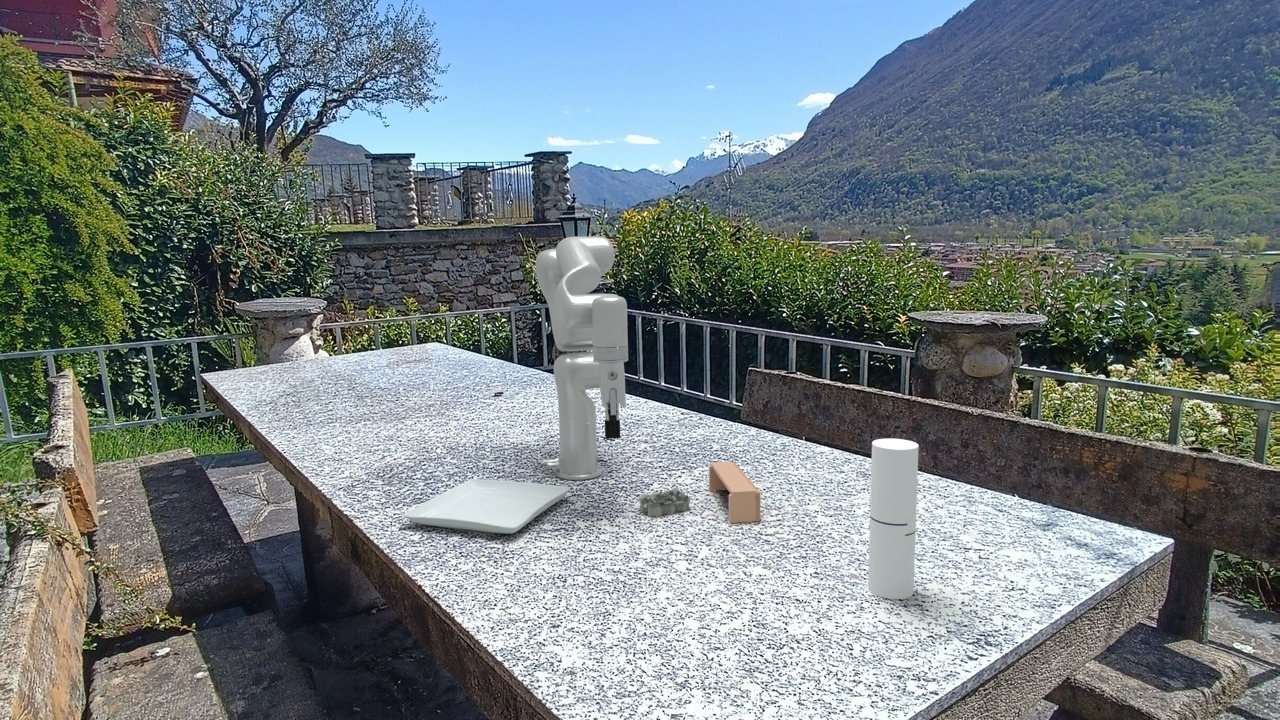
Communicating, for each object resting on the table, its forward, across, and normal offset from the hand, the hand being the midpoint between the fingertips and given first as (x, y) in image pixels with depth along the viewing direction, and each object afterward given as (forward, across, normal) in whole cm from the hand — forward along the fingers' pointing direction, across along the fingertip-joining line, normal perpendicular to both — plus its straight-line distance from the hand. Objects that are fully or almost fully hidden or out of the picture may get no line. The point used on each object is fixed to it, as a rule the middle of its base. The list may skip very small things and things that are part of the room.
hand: (612, 437), depth 160 cm
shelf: (+17, 0, -26) cm, 31 cm away
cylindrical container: (+17, -45, -43) cm, 64 cm away
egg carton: (+17, 0, -11) cm, 21 cm away
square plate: (+17, +3, +27) cm, 32 cm away
